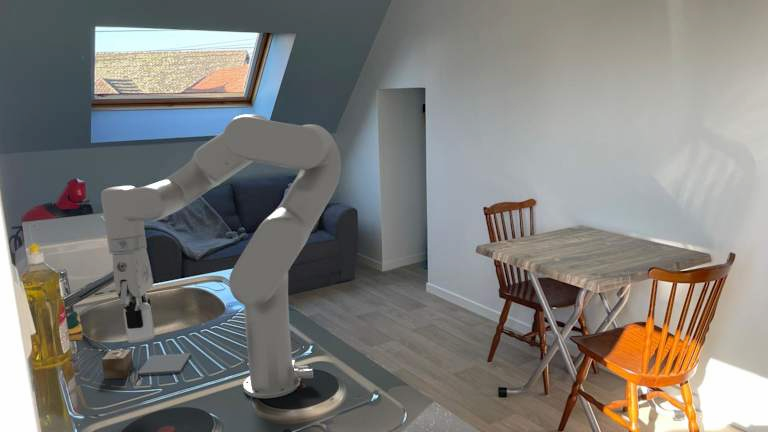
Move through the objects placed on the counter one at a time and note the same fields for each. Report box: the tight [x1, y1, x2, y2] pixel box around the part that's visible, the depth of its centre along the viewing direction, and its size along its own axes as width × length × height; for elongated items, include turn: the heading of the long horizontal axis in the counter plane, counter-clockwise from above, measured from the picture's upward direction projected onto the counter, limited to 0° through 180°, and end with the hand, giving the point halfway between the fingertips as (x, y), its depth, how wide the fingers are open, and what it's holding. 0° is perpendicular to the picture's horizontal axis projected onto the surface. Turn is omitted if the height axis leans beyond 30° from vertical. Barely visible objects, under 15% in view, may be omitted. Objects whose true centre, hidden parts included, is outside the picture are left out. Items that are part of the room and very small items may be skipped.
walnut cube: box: [101, 349, 134, 380], centre depth 140 cm, size 5×5×5 cm
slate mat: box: [136, 352, 192, 376], centre depth 144 cm, size 10×10×1 cm
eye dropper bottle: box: [122, 294, 156, 344], centre depth 129 cm, size 4×6×12 cm
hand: (139, 323), depth 129 cm, fingers closed on eye dropper bottle, 3 cm apart
